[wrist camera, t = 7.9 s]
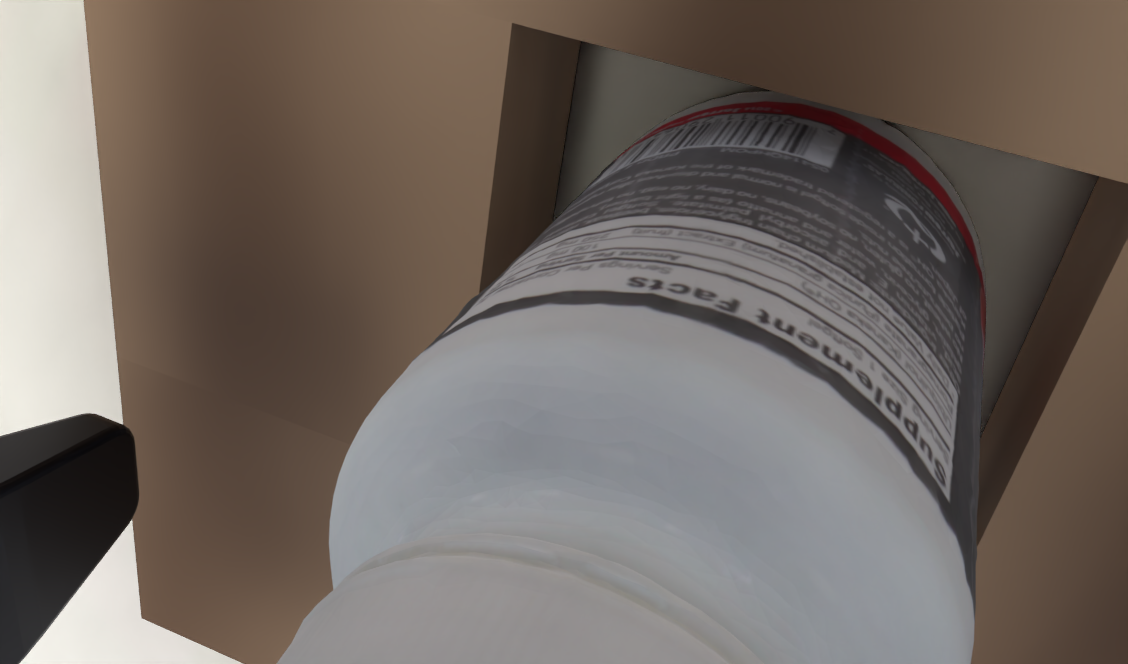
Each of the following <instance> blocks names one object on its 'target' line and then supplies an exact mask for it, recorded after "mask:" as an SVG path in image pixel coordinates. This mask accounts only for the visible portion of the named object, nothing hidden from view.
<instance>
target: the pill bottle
mask: <svg viewBox="0 0 1128 664" xmlns="http://www.w3.org/2000/svg"><path fill="white" fill-rule="evenodd" d="M985 330H986V283H985V274H984V267H983V261H982V255H981V249H980V244H979V240H978V237H977V233H976V231H975V228H974V226H973V223H972V221H971V218H970V216H969V213H968V211H967V210H966V208H965V206H964V204H963V203H962V201H961V199H960V198H959V196H958V194H957V193H956V191H955V189H954V188H953V186H952V184H951V183H950V182H949V181H948V180H947V178H946V177H945V176H944V175H943V174H942V172H941V171H940V170H939V169H938V168H937V167H936V165H935V163H934V162H933V160H932V159H931V158H930V157H929V156H928V155H927V154H926V153H924V152H923V151H922V150H921V149H920V148H919V147H918V146H917V145H916V144H915V143H914V142H913V141H912V140H910V139H909V138H908V137H907V136H905V135H904V134H903V133H901V132H900V131H898V130H897V129H896V128H893V127H891V126H889V125H888V124H886V123H884V122H883V121H881V120H879V119H877V118H874V117H870V116H867V115H863V114H859V113H855V112H851V111H848V110H844V109H840V108H836V107H832V106H828V105H825V104H821V103H817V102H813V101H809V100H805V99H802V98H798V97H794V96H790V95H786V94H783V93H779V92H775V91H763V92H746V93H738V94H734V95H730V96H726V97H721V98H717V99H712V100H709V101H706V102H703V103H700V104H697V105H695V106H692V107H690V108H688V109H686V110H683V111H681V112H679V113H677V114H675V115H673V116H671V117H670V118H668V119H666V120H665V121H663V122H661V123H660V124H658V125H657V126H655V127H654V128H652V129H651V130H650V131H648V132H647V133H646V134H644V135H643V136H642V137H640V138H639V139H638V140H637V141H636V142H635V143H634V144H632V145H631V146H630V147H629V148H628V149H627V150H626V151H624V152H623V153H622V154H621V155H620V156H619V157H617V158H616V159H615V160H614V161H613V162H612V163H611V164H610V165H609V166H608V167H606V168H605V169H604V170H603V171H602V173H601V174H600V175H599V176H598V177H597V178H596V179H595V180H594V181H593V182H592V183H591V184H590V185H589V186H588V187H587V188H586V189H585V191H584V192H583V193H582V194H581V195H580V196H579V197H578V198H577V199H575V200H574V201H573V202H572V203H571V204H570V205H569V206H568V207H567V208H566V210H565V211H564V212H563V213H562V214H561V215H560V216H559V217H558V218H557V219H556V220H555V221H554V222H553V223H552V224H551V225H550V226H549V227H548V228H547V229H546V230H545V231H544V232H543V233H542V234H541V235H540V236H539V237H538V238H537V239H536V240H535V241H534V242H533V243H532V244H531V245H530V246H529V247H528V248H527V249H526V250H525V251H524V252H523V253H522V254H521V255H520V256H519V257H518V258H517V259H516V260H514V261H513V262H512V263H511V265H510V266H509V267H508V268H507V269H506V270H505V271H504V272H503V273H502V274H501V275H500V276H499V277H498V278H497V279H496V280H494V281H493V282H492V283H491V284H490V285H489V286H488V287H486V288H485V289H484V290H483V291H482V292H481V293H479V294H478V295H477V296H475V297H473V298H472V299H471V300H470V301H469V302H468V303H467V304H466V305H465V306H464V307H463V309H462V310H461V312H460V313H459V314H458V316H457V317H456V318H455V319H454V320H453V321H452V322H451V324H450V325H449V326H448V327H447V328H446V329H445V330H444V331H443V332H442V333H441V334H440V335H439V336H438V337H437V338H436V339H435V340H434V341H433V342H432V343H431V344H430V345H429V346H428V347H427V348H426V349H425V350H424V351H423V352H422V353H421V354H419V355H418V356H417V357H416V358H415V359H414V360H413V361H412V362H411V364H410V365H409V366H408V368H407V369H406V370H405V371H404V372H403V374H402V375H401V376H400V377H399V378H398V379H397V380H396V381H395V383H394V384H393V385H392V386H391V387H390V388H389V389H388V390H387V392H386V393H385V394H384V395H383V396H382V397H381V399H380V400H379V401H378V403H377V404H376V405H375V407H374V408H373V409H372V411H371V412H370V413H369V415H368V416H367V417H366V419H365V420H364V422H363V424H362V426H361V427H360V429H359V431H358V433H357V434H356V436H355V438H354V440H353V442H352V444H351V446H350V448H349V450H348V452H347V454H346V457H345V459H344V462H343V465H342V467H341V470H340V473H339V476H338V480H337V484H336V488H335V492H334V496H333V502H332V509H331V516H330V528H329V552H330V564H331V573H332V582H333V591H332V592H330V593H329V594H328V595H327V596H326V597H325V598H324V599H323V600H322V601H320V602H319V603H318V604H317V605H316V606H315V607H314V608H313V610H312V611H311V612H310V613H309V614H308V615H307V616H306V617H305V619H304V620H303V622H302V624H301V626H300V627H299V629H298V631H297V633H296V635H295V637H294V639H293V641H292V643H291V644H290V646H289V647H288V648H287V650H286V651H285V653H284V654H283V655H282V657H281V658H280V660H279V661H278V662H277V664H971V658H972V651H973V644H974V626H975V611H976V560H977V545H976V538H977V509H978V495H979V457H980V427H981V401H982V385H983V365H984V348H985Z"/></svg>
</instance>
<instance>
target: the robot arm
mask: <svg viewBox="0 0 1128 664" xmlns="http://www.w3.org/2000/svg"><path fill="white" fill-rule="evenodd" d="M138 502H139V482H138V470H137V459H136V447H135V439H134V436H133V434H132V432H131V431H130V429H129V428H127V427H126V426H125V425H122V424H120V423H117V422H115V421H112V420H109V419H107V418H104V417H102V416H99V415H97V414H90V413H87V414H81V415H76V416H73V417H69V418H65V419H62V420H58V421H54V422H51V423H47V424H43V425H39V426H36V427H32V428H28V429H25V430H21V431H17V432H14V433H10V434H6V435H3V436H0V664H19V663H20V662H21V661H22V660H23V659H24V658H25V656H26V655H27V654H28V653H29V652H30V650H31V649H32V648H33V647H34V645H35V644H36V643H37V642H38V641H39V639H40V638H41V637H42V636H43V634H44V633H45V632H46V631H47V629H48V628H49V627H50V625H51V624H52V623H53V622H54V620H55V619H56V618H57V616H58V615H59V614H60V612H61V611H62V610H63V609H64V607H65V606H66V605H67V603H68V602H69V601H70V599H71V598H72V597H73V596H74V594H75V593H76V592H77V590H78V589H79V588H80V587H81V585H82V584H83V583H84V581H85V580H86V579H87V577H88V576H89V575H90V574H91V572H92V571H93V570H94V568H95V567H96V566H97V564H98V563H99V562H100V561H101V559H102V558H103V557H104V555H105V554H106V553H107V552H108V550H109V549H110V548H111V546H112V545H113V544H114V542H115V541H116V540H117V539H118V537H119V536H120V535H121V533H122V532H123V531H124V529H125V528H126V527H127V526H128V524H129V523H130V521H131V520H132V518H133V516H134V514H135V512H136V509H137V506H138Z"/></svg>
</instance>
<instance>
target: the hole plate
mask: <svg viewBox="0 0 1128 664" xmlns="http://www.w3.org/2000/svg"><path fill="white" fill-rule="evenodd" d="M84 9H85V20H86V30H87V41H88V52H89V62H90V73H91V84H92V94H93V105H94V116H95V126H96V137H97V148H98V158H99V169H100V180H101V190H102V201H103V212H104V222H105V233H106V244H107V254H108V265H109V275H110V286H111V297H112V307H113V318H114V329H115V339H116V350H117V361H118V371H119V382H120V393H121V403H122V414H123V425H125V426H126V427H127V428H129V429H130V431H131V432H132V434H133V436H134V439H135V447H136V459H137V470H138V482H139V502H138V506H137V509H136V512H135V514H134V516H133V518H132V520H133V531H134V542H135V552H136V563H137V574H138V584H139V595H140V606H141V616H142V618H143V619H145V620H147V621H150V622H152V623H154V624H156V625H158V626H161V627H163V628H165V629H167V630H170V631H172V632H174V633H176V634H179V635H181V636H183V637H185V638H188V639H190V640H192V641H194V642H197V643H199V644H201V645H203V646H206V647H208V648H210V649H212V650H214V651H217V652H219V653H221V654H223V655H226V656H228V657H230V658H232V659H235V660H237V661H239V662H241V663H244V664H277V662H278V661H279V660H280V658H281V657H282V655H283V654H284V653H285V651H286V650H287V648H288V647H289V646H290V644H291V643H292V641H293V639H294V637H295V635H296V633H297V631H298V629H299V627H300V626H301V624H302V622H303V620H304V619H305V617H306V616H307V615H308V614H309V613H310V612H311V611H312V610H313V608H314V607H315V606H316V605H317V604H318V603H319V602H320V601H322V600H323V599H324V598H325V597H326V596H327V595H328V594H329V593H330V592H332V591H333V582H332V573H331V564H330V552H329V528H330V516H331V509H332V502H333V496H334V492H335V488H336V484H337V480H338V476H339V473H340V470H341V467H342V465H343V462H344V459H345V457H346V454H347V452H348V450H349V448H350V446H351V444H352V442H353V440H354V438H355V436H356V434H357V433H358V431H359V429H360V427H361V426H362V424H363V422H364V420H365V419H366V417H367V416H368V415H369V413H370V412H371V411H372V409H373V408H374V407H375V405H376V404H377V403H378V401H379V400H380V399H381V397H382V396H383V395H384V394H385V393H386V392H387V390H388V389H389V388H390V387H391V386H392V385H393V384H394V383H395V381H396V380H397V379H398V378H399V377H400V376H401V375H402V374H403V372H404V371H405V370H406V369H407V368H408V366H409V365H410V364H411V362H412V361H413V360H414V359H415V358H416V357H417V356H418V355H419V354H421V353H422V352H423V351H424V350H425V349H426V348H427V347H428V346H429V345H430V344H431V343H432V342H433V341H434V340H435V339H436V338H437V337H438V336H439V335H440V334H441V333H442V332H443V331H444V330H445V329H446V328H447V327H448V326H449V325H450V324H451V322H452V321H453V320H454V319H455V318H456V317H457V316H458V314H459V313H460V312H461V310H462V309H463V307H464V306H465V305H466V304H467V303H468V302H469V301H470V300H471V299H472V298H473V297H475V296H477V295H478V294H479V293H481V292H482V291H483V290H484V289H485V288H486V287H488V286H489V285H490V284H491V283H492V282H493V281H494V280H496V279H497V278H498V277H499V276H500V275H501V274H502V273H503V272H504V271H505V270H506V269H507V268H508V267H509V266H510V265H511V263H512V262H513V261H514V260H516V259H517V258H518V257H519V256H520V255H521V254H522V253H523V252H524V251H525V250H526V249H527V248H528V247H529V246H530V245H531V244H532V243H533V242H534V241H535V240H536V239H537V238H538V237H539V236H540V235H541V234H542V233H543V232H544V231H545V230H546V229H547V228H548V227H549V226H550V225H551V224H552V220H553V214H554V207H555V201H556V195H557V188H558V182H559V176H560V169H561V163H562V157H563V150H564V144H565V138H566V131H567V125H568V119H569V112H570V106H571V100H572V93H573V87H574V81H575V75H576V68H577V62H578V56H579V49H580V43H581V41H584V42H587V43H591V44H595V45H599V46H603V47H607V48H610V49H614V50H618V51H622V52H626V53H630V54H633V55H637V56H641V57H645V58H649V59H652V60H656V61H660V62H664V63H668V64H672V65H675V66H679V67H683V68H687V69H691V70H695V71H698V72H702V73H706V74H710V75H714V76H717V77H721V78H725V79H729V80H733V81H737V82H740V83H744V84H748V85H752V86H756V87H760V88H763V89H767V90H771V91H775V92H779V93H783V94H786V95H790V96H794V97H798V98H802V99H805V100H809V101H813V102H817V103H821V104H825V105H828V106H832V107H836V108H840V109H844V110H848V111H851V112H855V113H859V114H863V115H867V116H870V117H874V118H878V119H882V120H886V121H890V122H893V123H897V124H901V125H905V126H909V127H913V128H916V129H920V130H924V131H928V132H932V133H936V134H939V135H943V136H947V137H951V138H955V139H958V140H962V141H966V142H970V143H974V144H978V145H981V146H985V147H989V148H993V149H997V150H1001V151H1004V152H1008V153H1012V154H1016V155H1020V156H1023V157H1027V158H1031V159H1035V160H1039V161H1043V162H1046V163H1050V164H1054V165H1058V166H1062V167H1066V168H1069V169H1073V170H1077V171H1081V172H1085V173H1089V174H1092V175H1096V176H1099V178H1098V180H1097V182H1096V185H1095V187H1094V189H1093V191H1092V193H1091V196H1090V198H1089V200H1088V202H1087V204H1086V207H1085V209H1084V211H1083V213H1082V216H1081V218H1080V220H1079V222H1078V224H1077V227H1076V229H1075V231H1074V233H1073V235H1072V238H1071V240H1070V242H1069V244H1068V246H1067V249H1066V251H1065V253H1064V255H1063V257H1062V260H1061V262H1060V264H1059V266H1058V268H1057V271H1056V273H1055V275H1054V277H1053V279H1052V282H1051V284H1050V286H1049V288H1048V290H1047V293H1046V295H1045V297H1044V299H1043V301H1042V304H1041V306H1040V308H1039V310H1038V312H1037V315H1036V317H1035V319H1034V321H1033V323H1032V326H1031V328H1030V330H1029V332H1028V334H1027V337H1026V339H1025V341H1024V343H1023V345H1022V348H1021V350H1020V352H1019V354H1018V356H1017V359H1016V361H1015V363H1014V365H1013V367H1012V370H1011V372H1010V374H1009V376H1008V378H1007V381H1006V383H1005V385H1004V387H1003V389H1002V392H1001V394H1000V396H999V398H998V400H997V403H996V405H995V407H994V409H993V411H992V414H991V416H990V418H989V420H988V422H987V425H986V427H985V429H984V431H983V433H982V436H981V438H980V457H979V495H978V509H977V538H976V545H977V560H976V611H975V626H974V644H973V651H972V658H971V664H1128V0H84Z"/></svg>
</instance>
